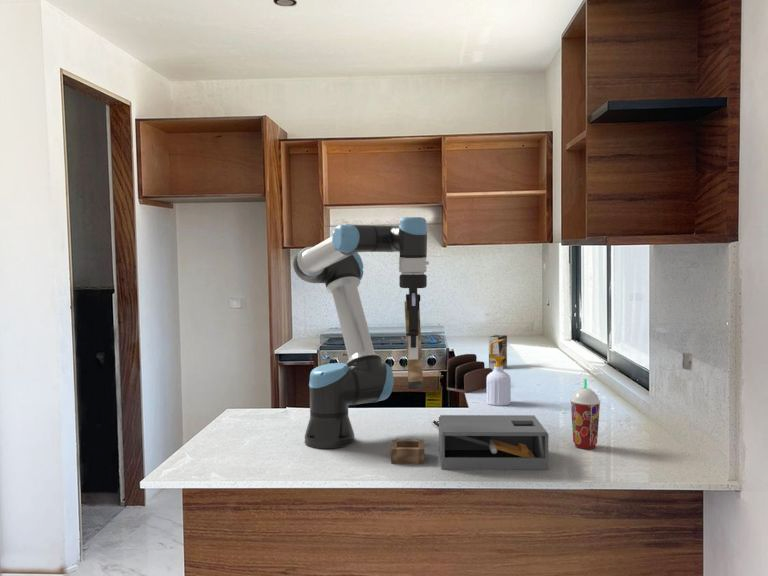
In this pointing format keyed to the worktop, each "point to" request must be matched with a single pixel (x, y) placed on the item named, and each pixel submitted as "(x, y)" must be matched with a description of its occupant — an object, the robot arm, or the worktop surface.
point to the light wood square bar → (414, 364)
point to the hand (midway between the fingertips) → (413, 357)
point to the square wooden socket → (407, 452)
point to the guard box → (498, 428)
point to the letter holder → (466, 373)
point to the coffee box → (498, 349)
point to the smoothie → (585, 417)
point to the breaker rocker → (500, 445)
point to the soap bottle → (498, 382)
